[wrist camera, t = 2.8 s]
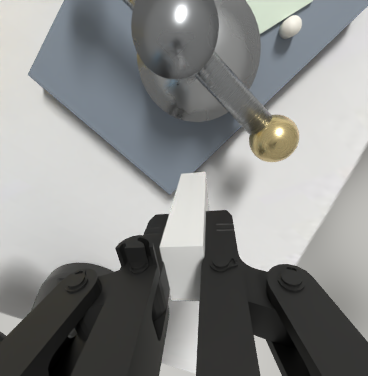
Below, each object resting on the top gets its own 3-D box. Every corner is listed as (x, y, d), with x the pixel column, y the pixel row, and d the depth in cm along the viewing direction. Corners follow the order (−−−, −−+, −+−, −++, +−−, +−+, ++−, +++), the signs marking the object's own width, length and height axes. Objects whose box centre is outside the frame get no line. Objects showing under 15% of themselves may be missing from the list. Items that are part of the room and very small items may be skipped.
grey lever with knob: (40, -14, 17) (-46, -62, 11) (105, -161, 13) (29, -343, 7) (232, 171, 22) (241, 204, 16) (315, 99, 18) (364, 108, 13)
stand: (172, 186, 25) (168, 200, 23) (42, 75, 21) (17, 74, 19) (357, 7, 17) (387, -8, 14) (202, -231, 13) (200, -318, 10)
